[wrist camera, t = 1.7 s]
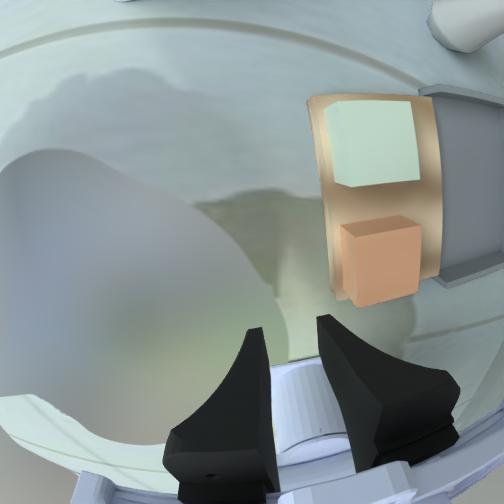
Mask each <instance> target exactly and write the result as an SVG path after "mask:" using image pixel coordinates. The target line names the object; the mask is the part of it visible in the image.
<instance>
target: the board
mask: <svg viewBox="0 0 504 504" xmlns="http://www.w3.org/2000/svg"><path fill="white" fill-rule="evenodd" d="M356 100H383V101H409V102H410V104H411V109H412V115H413V121H414V127H415V134H416V142H417V150H418V159H419V170H420V180H410V181H400V182H391V183H382V184H373V185H365V186H357V187H349V186H346V185H342V184H339V183H336V182H335V180H334V172H333V165H332V158H331V151H330V145H329V139H328V133H327V127H326V122H325V116H324V111H323V109H324V108H326V107H328V106H330V105H331V104H333V103H335V102H337V101H356ZM307 106H308V111H309V116H310V122H311V127H312V133H313V139H314V145H315V151H316V157H317V163H318V170H319V177H320V184H321V192H322V200H323V208H324V217H325V226H326V236H327V246H328V258H329V271H330V286H331V291H332V292H333V294H334V296H335V297H336V299H337V301H341V300H345V299H349V298H350V297H349V296H348V294H347V293H346V292H345V290H344V289H343V268H342V251H341V238H340V226H339V225H342V224H348V223H354V222H360V221H366V220H372V219H378V218H384V217H390V216H396V215H401V216H403V217H405V218H407V219H410V220H412V221H414V222H416V223H418V224H420V225H422V232H421V260H420V275H419V281H420V280H424V279H427V278H430V277H434V276H437V275H439V270H440V259H441V245H442V218H443V202H442V175H441V161H440V150H439V141H438V133H437V126H436V120H435V114H434V108H433V103H432V98H431V97H422V96H410V95H394V94H332V95H315V96H312V97H311V98H310V99H308V100H307Z"/></svg>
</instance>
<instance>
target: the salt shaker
mask: <svg viewBox="0 0 504 504" xmlns="http://www.w3.org/2000/svg"><path fill="white" fill-rule="evenodd" d="M426 22H427V24H428V26H429V28H430V31H431V33H432V35H433V37H434V38H435V39H436V40H437V41H439V42H440V43H441V44H442V45H443V46H445V47H446V48H447V49H451V50H455V51H460V52H466V53H473V52H475V51H476V50H477V49H479V48H480V47H482V46H484V45H485V44H487V43H488V42H490V41H492V40H493V39H495V38H497V37H498V36H500V35H502V34H503V33H504V0H438V1H436V2H434V3H433V4H432V8H431V12H430V15H429V17H428V19H427V21H426Z"/></svg>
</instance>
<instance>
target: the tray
mask: <svg viewBox="0 0 504 504" xmlns="http://www.w3.org/2000/svg"><path fill="white" fill-rule="evenodd" d="M419 95H420V96H422V97H431V98H432V103H433V108H434V114H435V120H436V126H437V133H438V141H439V150H440V161H441V175H442V202H443V218H442V245H441V259H440V270H439V275H437V276H434V277H432V278H433V279H434V280H435V281H437V282H438V283H439V284H441V285H442V286H443V287H444V288H446V289H448V288H451V287H453V286H456V285H459V284H462V283H465V282H467V281H470V280H473V279H476V278H478V277H481V276H483V275H486V274H489V273H491V272H494V271H496V270H499V269H501V268H503V267H504V99H502V98H499V97H495V96H492V95H488V94H484V93H480V92H476V91H472V90H467V89H463V88H458V87H453V86H447V85H441V84H437V85H433V86H430V87H426V88H422V89H419Z"/></svg>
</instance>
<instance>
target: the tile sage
mask: <svg viewBox="0 0 504 504" xmlns="http://www.w3.org/2000/svg"><path fill="white" fill-rule="evenodd" d="M323 111H324V116H325V122H326V127H327V133H328V139H329V145H330V151H331V158H332V165H333V172H334V180H335V182H336V183H339V184H342V185H346V186H349V187H357V186H365V185H373V184H382V183H391V182H400V181H410V180H420V170H419V159H418V150H417V142H416V134H415V127H414V121H413V115H412V109H411V104H410V102H409V101H383V100H356V101H337V102H335V103H333V104H331V105H330V106H328V107H326V108H324V109H323Z"/></svg>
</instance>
